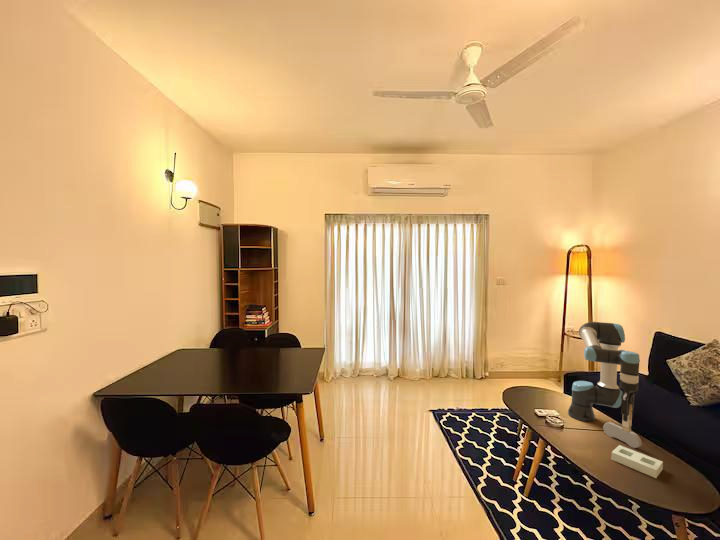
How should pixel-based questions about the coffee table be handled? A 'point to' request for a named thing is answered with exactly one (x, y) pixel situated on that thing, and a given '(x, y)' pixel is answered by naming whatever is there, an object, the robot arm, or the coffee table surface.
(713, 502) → the coffee table surface
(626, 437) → the grey flat oval slab
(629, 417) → the peg
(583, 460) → the coffee table surface
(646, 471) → the socket block
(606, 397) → the robot arm
